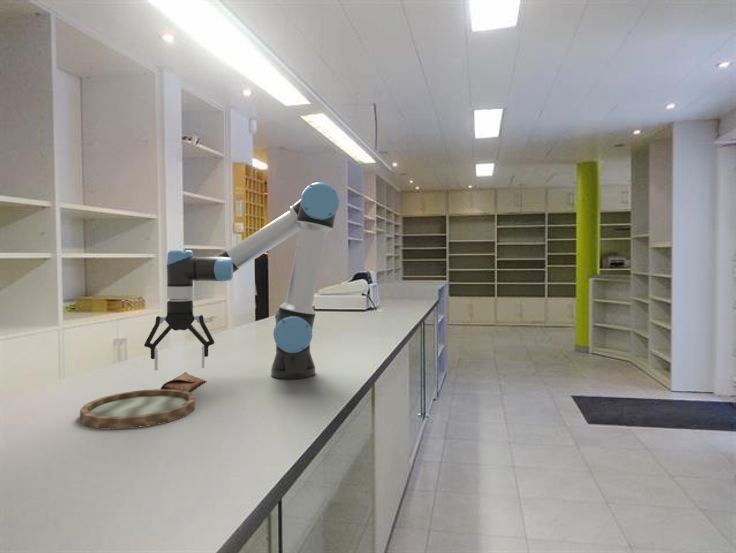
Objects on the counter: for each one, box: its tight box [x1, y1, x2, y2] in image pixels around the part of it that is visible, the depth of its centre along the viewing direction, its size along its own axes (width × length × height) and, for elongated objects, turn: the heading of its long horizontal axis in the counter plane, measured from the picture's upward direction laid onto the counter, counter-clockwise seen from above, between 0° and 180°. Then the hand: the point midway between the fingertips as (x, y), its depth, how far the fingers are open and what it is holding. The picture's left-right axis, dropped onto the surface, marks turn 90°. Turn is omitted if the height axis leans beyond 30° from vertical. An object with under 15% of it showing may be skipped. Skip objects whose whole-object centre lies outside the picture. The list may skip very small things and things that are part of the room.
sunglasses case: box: [160, 371, 207, 393], centre depth 158 cm, size 18×7×7 cm
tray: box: [79, 388, 196, 430], centre depth 133 cm, size 27×27×2 cm
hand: (180, 368), depth 158 cm, fingers open, 13 cm apart
